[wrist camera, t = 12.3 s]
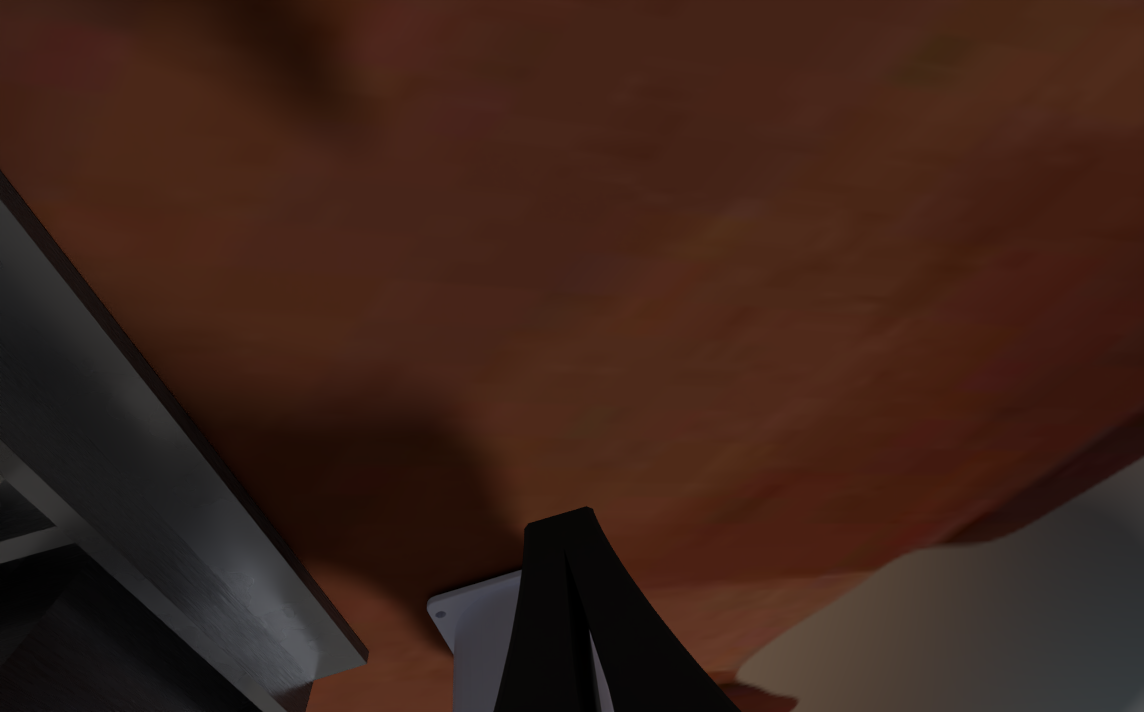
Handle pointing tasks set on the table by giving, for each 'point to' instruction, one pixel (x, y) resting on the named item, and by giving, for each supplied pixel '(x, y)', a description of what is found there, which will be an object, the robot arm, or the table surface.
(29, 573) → the drive rack
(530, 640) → the robot arm
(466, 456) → the table surface
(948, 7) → the table surface
